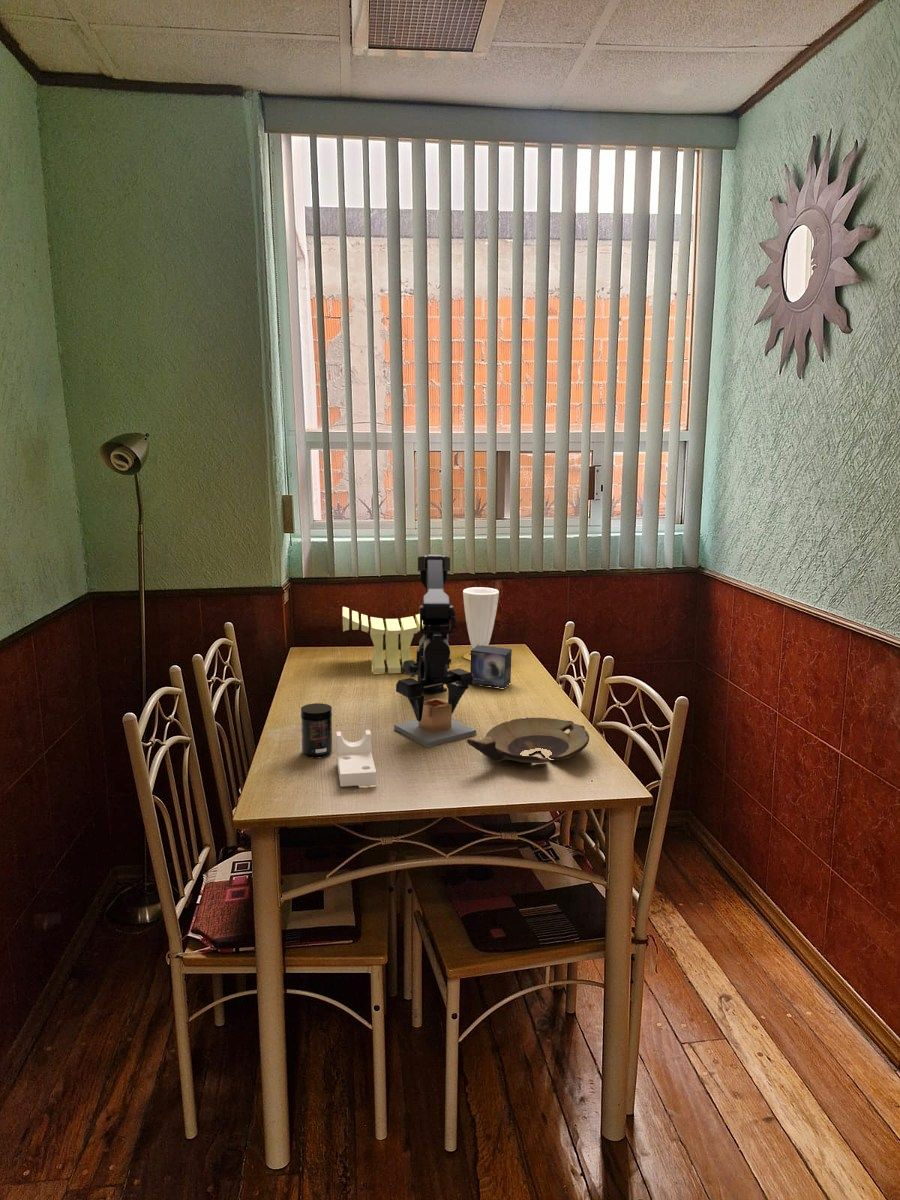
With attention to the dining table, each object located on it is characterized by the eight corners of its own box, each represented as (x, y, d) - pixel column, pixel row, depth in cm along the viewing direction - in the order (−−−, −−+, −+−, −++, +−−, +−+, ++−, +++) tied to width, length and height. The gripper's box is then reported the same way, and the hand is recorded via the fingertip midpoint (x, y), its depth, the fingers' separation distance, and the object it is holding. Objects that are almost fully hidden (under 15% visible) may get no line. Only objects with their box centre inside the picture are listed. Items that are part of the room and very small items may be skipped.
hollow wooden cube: (437, 721, 196) (437, 697, 195) (451, 728, 192) (451, 704, 190) (418, 726, 193) (418, 702, 192) (432, 733, 188) (432, 708, 187)
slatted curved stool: (438, 658, 257) (439, 603, 253) (444, 672, 241) (445, 614, 238) (343, 660, 253) (342, 604, 249) (343, 674, 237) (342, 615, 234)
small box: (468, 685, 229) (469, 649, 227) (476, 679, 235) (477, 644, 233) (504, 690, 225) (505, 653, 223) (511, 683, 231) (512, 648, 229)
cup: (498, 661, 254) (500, 594, 249) (461, 661, 254) (462, 593, 249) (496, 652, 265) (498, 587, 261) (461, 651, 265) (462, 586, 261)
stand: (441, 718, 202) (441, 698, 201) (476, 734, 191) (476, 713, 190) (393, 729, 194) (394, 708, 193) (427, 747, 183) (427, 725, 182)
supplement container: (325, 745, 183) (324, 701, 181) (337, 755, 178) (337, 710, 176) (297, 751, 180) (295, 706, 178) (308, 761, 174) (307, 715, 172)
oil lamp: (608, 770, 172) (610, 736, 170) (472, 782, 165) (473, 747, 163) (568, 733, 193) (570, 702, 192) (446, 743, 186) (447, 711, 185)
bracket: (336, 765, 173) (336, 731, 172) (369, 763, 174) (369, 729, 173) (340, 790, 161) (340, 755, 159) (376, 788, 162) (376, 752, 160)
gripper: (447, 640, 200) (446, 701, 204) (383, 651, 190) (383, 715, 193) (475, 650, 192) (473, 713, 195) (409, 662, 181) (409, 728, 184)
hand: (434, 717), depth 192 cm, fingers open, 9 cm apart
